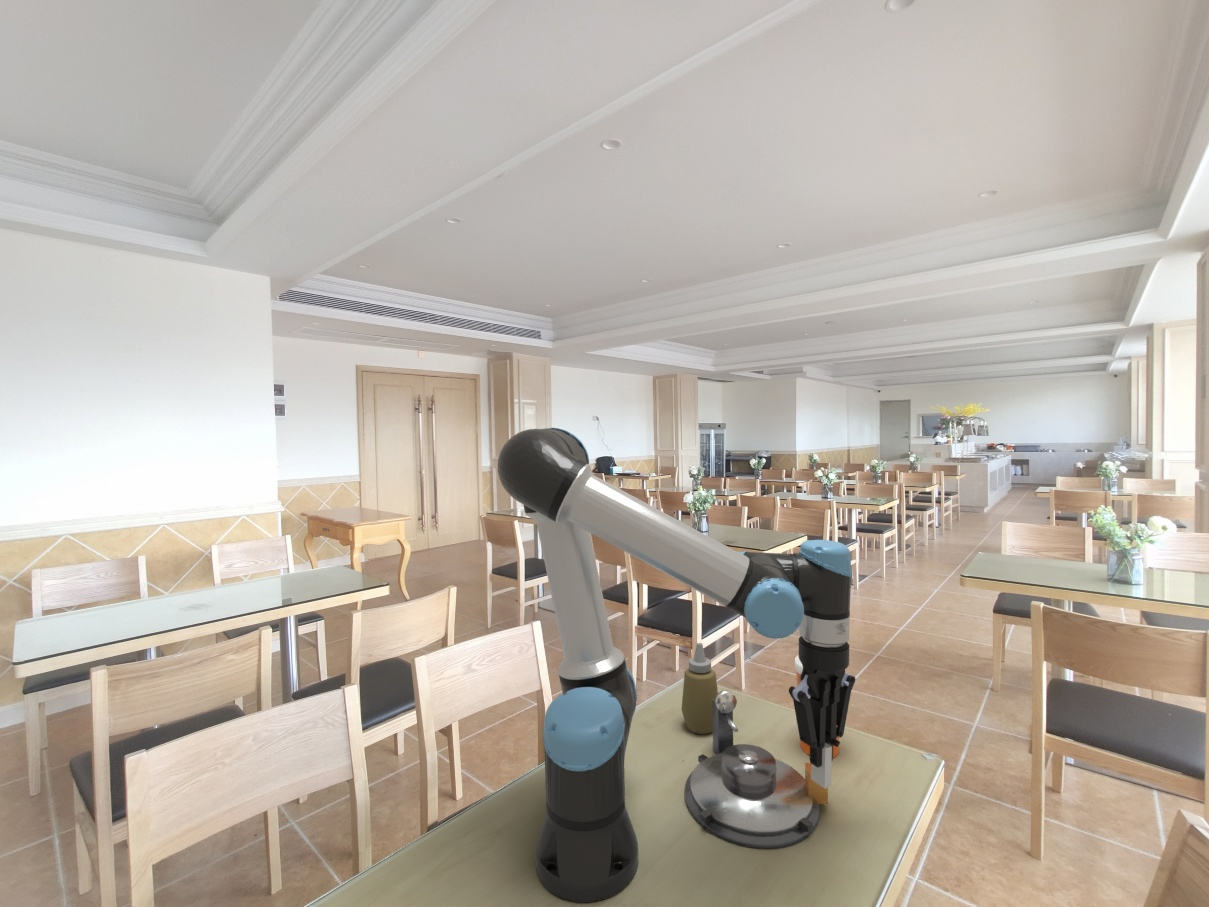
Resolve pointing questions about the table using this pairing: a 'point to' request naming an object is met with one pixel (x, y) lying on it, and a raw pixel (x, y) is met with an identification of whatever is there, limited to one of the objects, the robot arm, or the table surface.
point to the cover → (749, 771)
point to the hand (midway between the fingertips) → (820, 782)
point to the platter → (756, 800)
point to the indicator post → (723, 720)
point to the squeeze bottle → (699, 693)
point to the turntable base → (746, 839)
